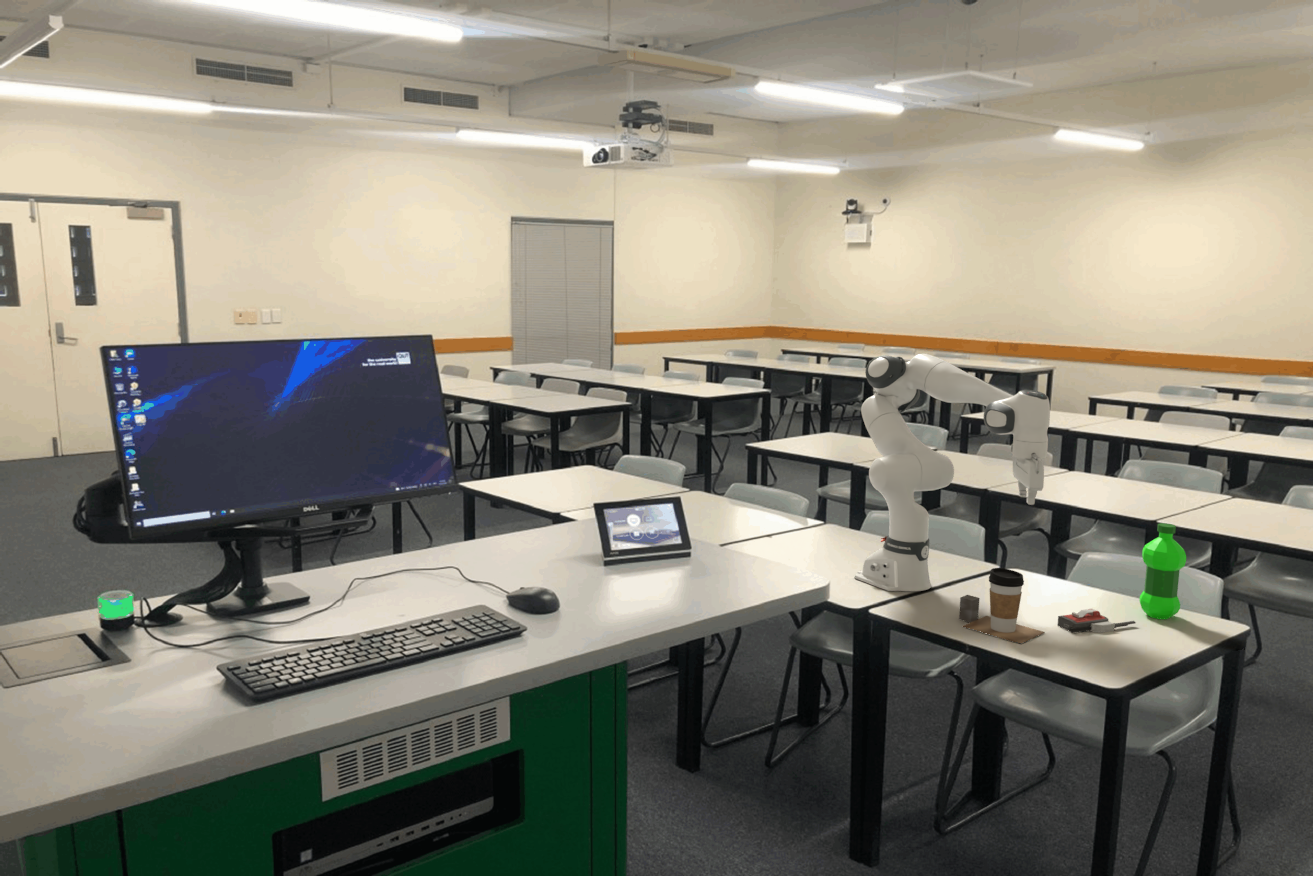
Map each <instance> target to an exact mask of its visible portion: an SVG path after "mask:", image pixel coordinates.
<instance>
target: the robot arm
mask: <svg viewBox="0 0 1313 876" xmlns="http://www.w3.org/2000/svg"><path fill="white" fill-rule="evenodd" d="M864 375H865V378H866V381H867V382H868V384H869V385H870V387H872V388H873V389H874V391H875V392H874V394H873V395H871V396H869V397H868V398H866V399H865V400H864V402H863V403H862V405H861V407H860V410H861V411H860V412H861V413H860V414H861V417H862V420H863V422H864V425H865V429H866V430H867V432H868V435H869V437H870V438H871V440H872V442H873V444H874V445H875V448H876V450H877V452H878V453H879V454H880V455H882V456H881V457H877V458H875V459H874V460H873V461H872V462H871V464H870V466H869V470H868V478H869V481H870V484H871V485H872V487H873V488H874V489H875V490H876V491H878V493H880V494H881V495H882V497H883V498H884V500H885V502H886V504H887V508H888V513H889V515H888V518H889V523H888V526H889V529H888V534H887V535H885V536H884V537H881V538H880V543H883V542H884V543H883V546H882V547H880V548H879V549H877V550H876V551H874V552H872V553H871V554H869V555H868V556H867V557H866V558H865V559H864V561H863V566H862V569H861V570H858V571H857V572H855V574H854V579H856V580H859V581H861V582H863V583H867V584H869V585H872V586H874V587H877V588H880V589H883V590H885V591H889V592H899V591H900V592H901V591H902V592H921V591H926V590H929V589H930V588H932V583H931V578H930V573H929V563H928V561H929V553H930V538H929V523H930V515H929V512H928V511H927V509H926V508H925V507H924V506H922V505H921V504H919V503H917V502H916V501H915V492H928V491H936V490H939V489H943V488H946V487H948V486H949V485H951V483H952V482H953V480H954V477H955V476H954V475H955V467H954V464H953V462H952V460H951V459H950V457H948V456H947V455H946V454H943V453H940V452H937V451H935V450H933V449H932V448H930V447H929V446H928V445H926V444H924V443H923V442H922V441H921V440H920V439H919V438H917V436H916V435H915V434H913V432H912V430H911V429H910V428H909V426H908V425H907V423H906V420H905V419H904V417H903V415H902V414H901V413H904V412H905V411H907V410H909V409H910V408H912V407H913V406H914V405H915V404H916V403H917V402H918V401H919V398H920V396H921V391H922V392H924V393H926V394H927V395H929V396H930V397H932V398H934V399H936V400H938V401H942V402H945V403H949V404H950V403H952V404H960V403H961V404H976V405H981V406H985V409H984V412H983V423H984V425H985V427H986V429H987V430H988V431H989V432H990V433H992V434H993V435H994V434H995V435H1001V436H1003V435H1013V436H1012V437H1013V439H1012V440H1013V441H1012V443H1011V445H1010V452H1011V453H1012V454H1011V455H1012V475H1013V478H1015V479H1016V480H1017V485H1018V496H1019V497H1020V498H1026V503H1027V504H1028V505H1029V506H1030V505H1031V506H1034V505H1035V502H1036V498H1037V497H1036V496H1037V494H1038V492H1039V491H1040V492H1041V491H1043V489H1044V486H1045V485H1044V484H1045V482H1044V480H1045V466H1044V463H1043V461H1042V460H1045V459H1047V458H1048V446H1049V445H1048V444H1049V437H1048V428H1049V427H1050V421H1051V420H1050V418H1051V408H1050V407H1051V405H1050V404H1051V403H1050V400H1049V397H1048V395H1047V394H1045V393H1043V392H1041V391H1038V390H1034V389H1033V390H1032V389H1022V390H1021V389H1020V390H1019V391H1018V392H1017V393H1016V394H1013V393H1011V392H1009V391H1007V390H1005V389H1003V388H1000V387H998V386H996V385H994V384H991V383H989V382H987V381H985V380H983V379H980V378H978V377H976V376H974V375H973V374H971V373H968V372H967V371H965V370H962V369H961V368H959V367H958V366H956V365H954V364H952V363H950V362H949V361H947V360H944V359H942V358H940V357H937V356H935V355H931V354H929V353H918V354H916V355H914V356H913V357H912V358H911V359H910V360H909V361H905V359H904V358H903V357H901V356H892V355H878V356H876V357H874V358H872V359H871V360H870V361H869V362H868V364H867V365H866V368H865V374H864Z"/></svg>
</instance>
